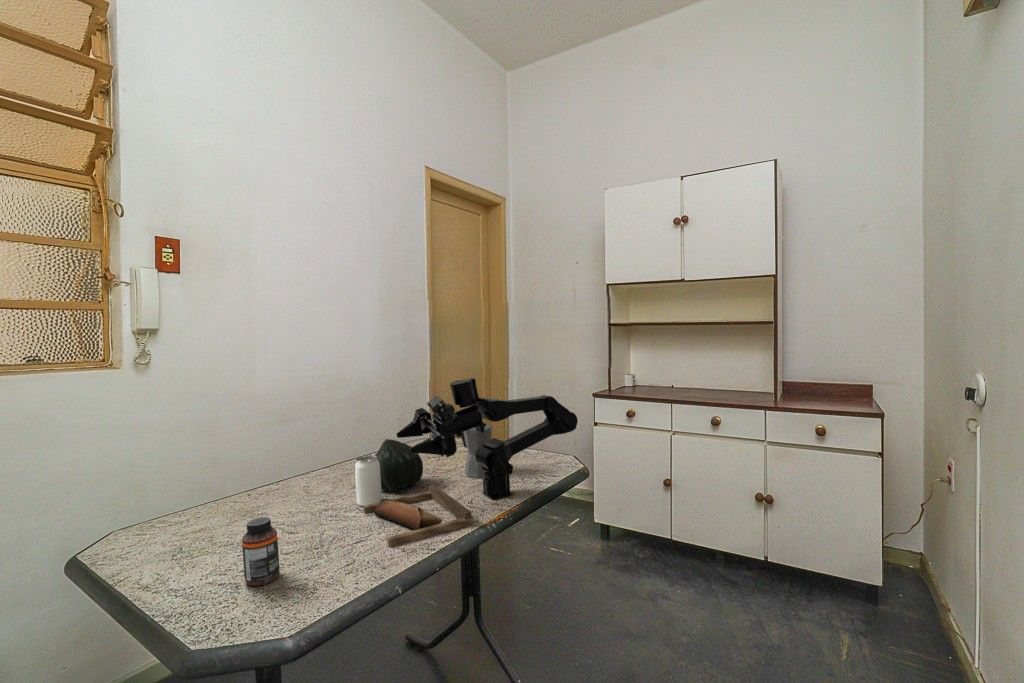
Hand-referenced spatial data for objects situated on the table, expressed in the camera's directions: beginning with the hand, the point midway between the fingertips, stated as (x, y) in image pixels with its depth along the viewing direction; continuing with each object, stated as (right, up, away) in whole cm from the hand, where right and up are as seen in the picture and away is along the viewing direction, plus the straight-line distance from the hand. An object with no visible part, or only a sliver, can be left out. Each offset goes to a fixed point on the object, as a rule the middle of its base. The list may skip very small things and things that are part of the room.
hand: (403, 442), depth 117 cm
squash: (-7, -18, +24) cm, 31 cm away
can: (-12, -19, +12) cm, 25 cm away
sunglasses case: (+2, -19, -1) cm, 19 cm away
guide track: (+3, -18, 0) cm, 19 cm away
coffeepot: (+16, -17, +34) cm, 41 cm away
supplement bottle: (-21, -20, -27) cm, 39 cm away
